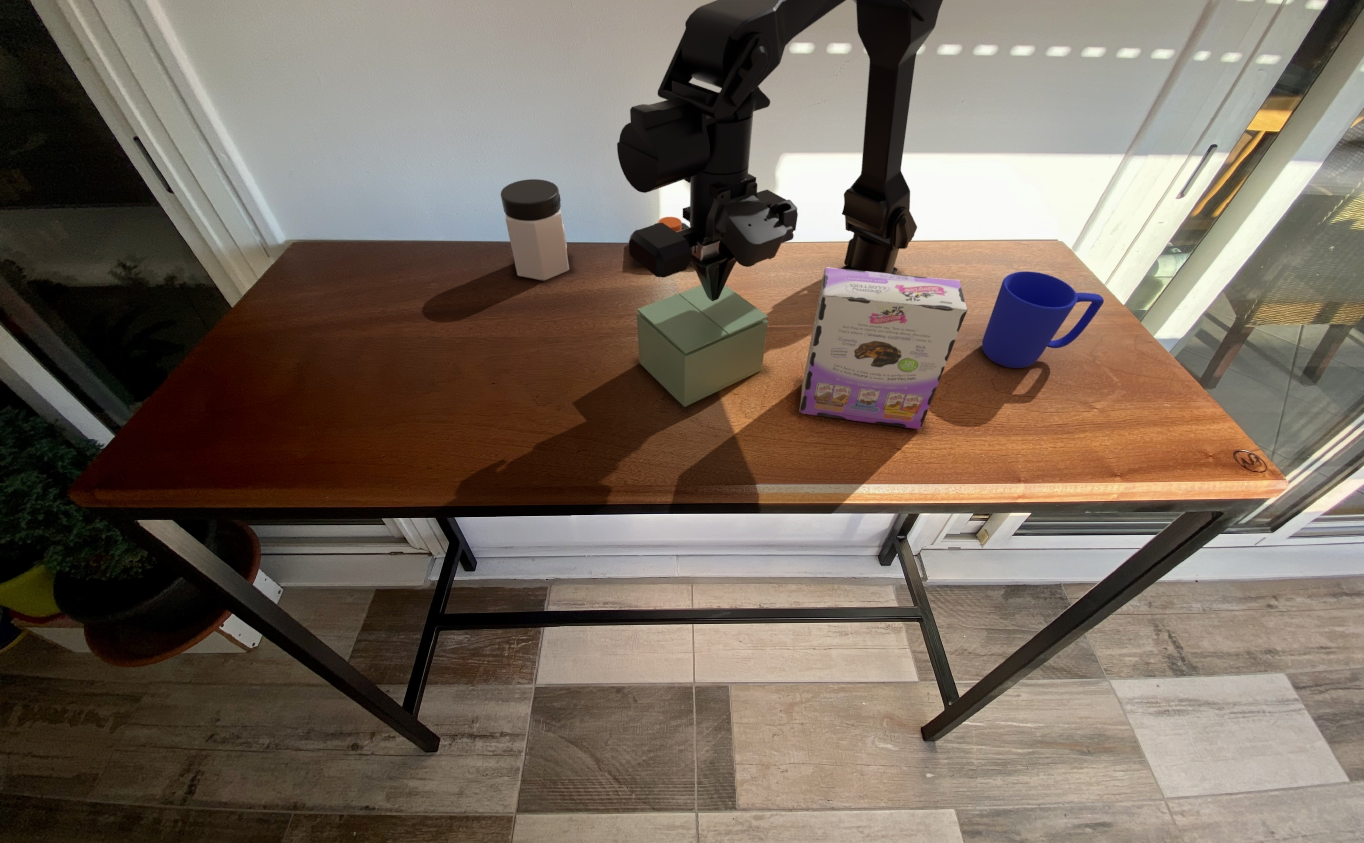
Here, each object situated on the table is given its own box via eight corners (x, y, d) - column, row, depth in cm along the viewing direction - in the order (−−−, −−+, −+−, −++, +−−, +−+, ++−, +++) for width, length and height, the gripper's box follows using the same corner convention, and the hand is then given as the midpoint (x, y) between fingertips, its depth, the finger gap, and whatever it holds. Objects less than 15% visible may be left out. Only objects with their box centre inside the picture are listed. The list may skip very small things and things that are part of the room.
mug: (1082, 377, 75) (1125, 309, 68) (986, 375, 75) (1018, 308, 68) (1055, 337, 80) (1091, 271, 73) (965, 335, 81) (993, 270, 73)
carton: (714, 331, 81) (717, 278, 75) (762, 370, 75) (769, 316, 69) (639, 363, 76) (636, 309, 70) (684, 407, 70) (685, 352, 64)
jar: (572, 278, 90) (561, 201, 82) (517, 284, 89) (500, 207, 80) (567, 249, 96) (556, 175, 88) (515, 254, 95) (500, 180, 87)
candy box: (916, 398, 72) (963, 277, 60) (920, 432, 68) (970, 310, 56) (801, 382, 74) (824, 262, 62) (798, 414, 69) (822, 293, 58)
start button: (681, 227, 94) (681, 216, 93) (681, 238, 92) (682, 227, 91) (658, 227, 94) (658, 216, 93) (658, 238, 92) (658, 227, 91)
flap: (716, 280, 75) (716, 278, 75) (768, 318, 70) (768, 316, 69) (678, 295, 73) (678, 293, 73) (728, 335, 67) (728, 333, 67)
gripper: (690, 219, 50) (687, 363, 61) (846, 169, 58) (819, 305, 69) (621, 174, 56) (630, 312, 67) (771, 134, 64) (757, 264, 75)
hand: (712, 298), depth 69 cm, fingers closed
